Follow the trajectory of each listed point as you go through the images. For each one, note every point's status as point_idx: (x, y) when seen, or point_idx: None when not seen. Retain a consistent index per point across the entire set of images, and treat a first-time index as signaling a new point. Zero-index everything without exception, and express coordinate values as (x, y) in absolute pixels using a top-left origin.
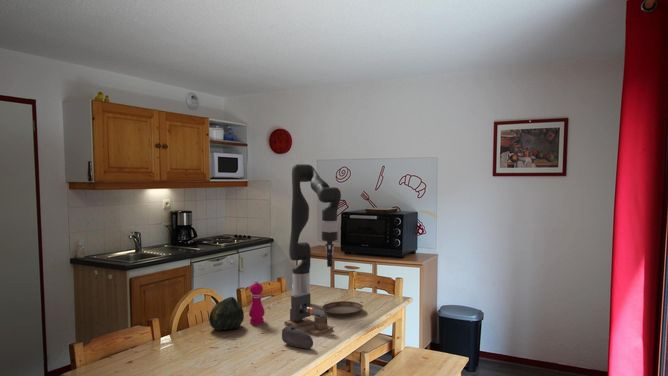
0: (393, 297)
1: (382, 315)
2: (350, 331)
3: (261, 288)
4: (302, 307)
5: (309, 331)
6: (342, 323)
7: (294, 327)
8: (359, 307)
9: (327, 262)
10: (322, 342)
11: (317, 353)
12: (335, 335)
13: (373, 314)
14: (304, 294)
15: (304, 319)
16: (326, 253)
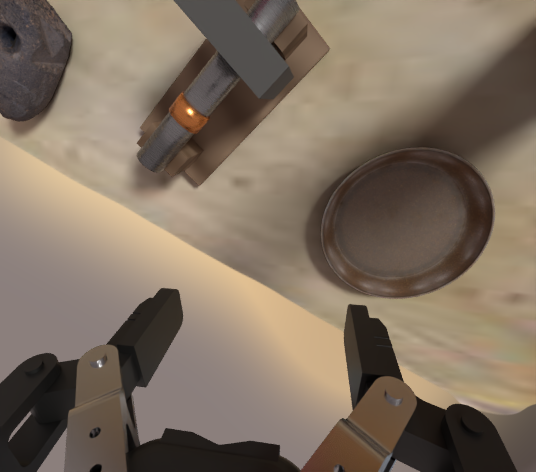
0: (530, 390)
1: (339, 328)
2: (199, 231)
3: None
4: (214, 56)
5: (162, 100)
6: (272, 215)
7: None
8: (410, 285)
9: (143, 314)
10: (100, 147)
11: (20, 133)
12: (162, 188)
13: None
14: (236, 57)
15: None
16: (89, 402)
